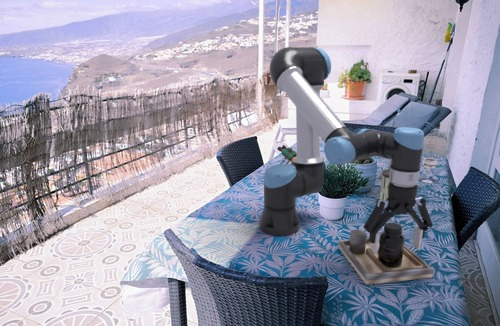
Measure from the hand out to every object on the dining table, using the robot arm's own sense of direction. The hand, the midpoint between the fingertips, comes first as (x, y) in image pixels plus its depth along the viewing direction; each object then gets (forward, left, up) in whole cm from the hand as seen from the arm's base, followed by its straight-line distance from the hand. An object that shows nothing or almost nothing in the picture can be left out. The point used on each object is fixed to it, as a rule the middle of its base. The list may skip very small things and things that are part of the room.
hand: (395, 249), depth 100 cm
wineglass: (+58, +66, -5) cm, 88 cm away
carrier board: (-2, +2, -5) cm, 6 cm away
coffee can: (+24, +44, -5) cm, 50 cm away
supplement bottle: (-1, 0, -4) cm, 4 cm away
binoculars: (-8, +96, -6) cm, 97 cm away
